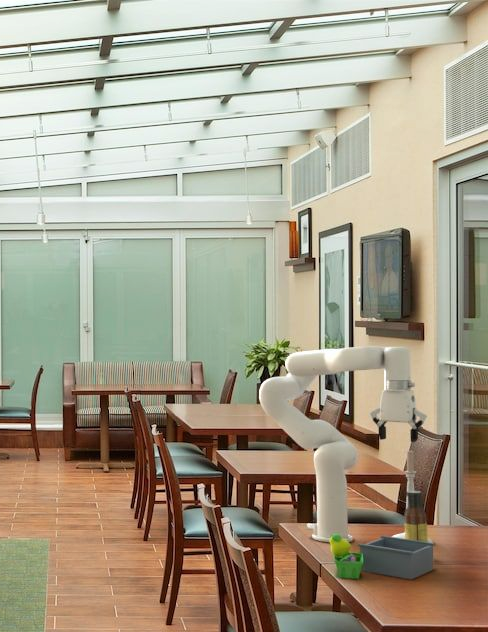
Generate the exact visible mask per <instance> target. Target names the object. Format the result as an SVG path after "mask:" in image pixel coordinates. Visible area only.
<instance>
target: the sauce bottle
mask: <svg viewBox="0 0 488 632" xmlns="http://www.w3.org/2000/svg"><path fill="white" fill-rule="evenodd" d="M407 497H408V507H407V509H406V508H405V510H404V515H403V516H404V533H405V539H410V540H416V541H423V542H428V538H429V537H428V536H429V535H428V522H427V513H426V512H425V509H424V508H423V506H422V491H420V490H414V491H407V490H406V498H407Z"/></svg>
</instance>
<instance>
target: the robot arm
mask: <svg viewBox="0 0 488 632" xmlns="http://www.w3.org/2000/svg"><path fill="white" fill-rule="evenodd" d="M285 369H286V371H287V374H286V375H283V376H273V377H270V378H267V379H265V380H264V381H263V382H262V383H261V385H260V388H259V392H258V393H259V395H258V396H259V397H258V398H259V403H260V405H261V408H262V409H263V411H264V412H265V414H266V415H267V416H268V417H269V418H270V419H271V420H272V421H273V422H274V423H275V424H277V425H278V426H279V427H280V428H281V429H282V430H283V431H284V432H285V434H287V435H288V436H289V437H290V438H291V439H292V440H293V441H294V442H295V443H296V444H297V445H298V446H300V447H301V448H302V449H304V450H305V449H306V450H313V449H314V450H315V449H316V450H315V452H314V454H313V466H314V470H315V479H316V480H315V481H316V523H309V522H308V523H307V524H306V530H307V531H312V532H313V533H312V535H311V536H312V537H311V538H312V539H313V540H315V541H318V542H321V543H322V542H323V543H330V538H331V537H332V536H331V535H332V534H333V535H334V534H339V535H340V536H341V537H342V538H343V539H345V540H346V541H347V542H348V543H351V542H353V541H354V537H353V535H351V534H349V523H348V520H349V519H348V518H349V517H348V511H349V510H348V482H347V477H346V473H345V471H346V470H350V469H352V468H354V467H355V466H356V464H357V463H358V461H359V452H358V449H357V447H355V445H354V444H353V443H352V442H351V441H350V440H349V439H348V438H347V437H346V436H344V435H343V433H341V432H340V431H339V430H338V429H337V428H336V427H334V426H333V424H331V423H329V422H327V421H326V420H324V419H310V418H309V417H307V416H306V415H305V414H304V413H303V412H302V411H301V410H300V409H299V408H297V407H296V406H294V405H293V404H292V403H290V402H288V401H293V400H296V399H298V398H299V397H300V396H302V395H303V393H304V392H305V391H306V390H307V389H308V387H309V386H311V384H312V383H313V381H315V380H316V378H317V377H318V376H328V375H337V373H344V372H355V371H369V370H382V369H383V370H384V389H382V392H381V396H380V404H379V408H376V409H375V410H372V411H370V412H369V415H370V417H371V419H372V421H373V423H374V424H375V425H376V426H377V428H378V437H379V440H381V441H382V440H386V439H387V426H386V424H387V423H388V422H390V423H404V424H405V423H406V424H407V423H408V425H409V426H410V428H411V429H410V430H409V431H410V442H411V443H416V442H417V441H418V439H419V429H420V428H421V426H423V425H424V424H425V421H426V419H427V418H428V416H427V414H425V413H423V412H422V411H420V410H418V409H417V401H416V395H415V391H414V390H412V388H415V387H416V384H415V382H412V380H411V350H410V348H409V347H407V346H382V345H362V346H353V347H341V348H323V349H315V350H313V349H312V350H305V351H303V350H302V351H296V352H293V353H291V354H289V355H288V356H287V358H286V360H285ZM378 414H379V417H378ZM418 417H419V420H418ZM417 420H418V421H417Z"/></svg>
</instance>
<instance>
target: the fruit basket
mask: <svg viewBox="0 0 488 632" xmlns="http://www.w3.org/2000/svg"><path fill="white" fill-rule="evenodd" d="M331 536H332V537H331V538H330V542H329V544H330V545H329V546H330V551H331V553H332V555H333V561H334V564H335V568H336V570H337V575H338V578H340V579H351V580H353V579H354V580H359V579H360V575H361V572H362V571H361V567H362V565H363V554H361V553H360V552H353V551H352V552H350V550H351V548H352V545H351V542H347V541H346V540H345V539H343V538H342V537H341V536H340V535H339V534H334V535H333V534H332V535H331Z"/></svg>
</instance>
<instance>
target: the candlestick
mask: <svg viewBox="0 0 488 632" xmlns="http://www.w3.org/2000/svg"><path fill="white" fill-rule="evenodd" d="M414 452H415V451H414V450H406V470H404V473H405V477H406V478H407V482H406V483H407V484H406V492H407V491H415V482H414V479H415V478H416V474H417V471H415V462H414V461H415V455H414V454H415V453H414ZM405 503H406V504H405V505H406V506H405V510H406V509H407V507H408V497H407V496H406V502H405ZM391 537H396V538H403V539H405V532H402V533H397V534H394V535H392V536H391ZM428 542H430V543H434V541H433V540H432V539H431V538H430V537H428Z"/></svg>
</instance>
